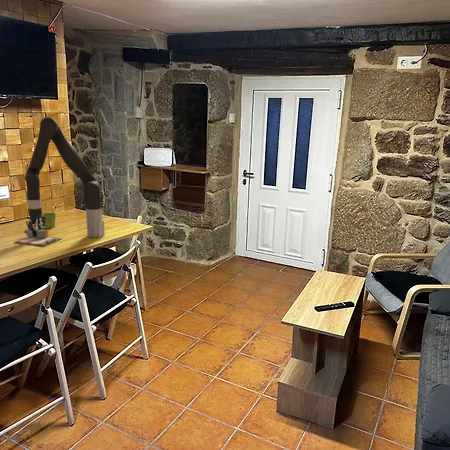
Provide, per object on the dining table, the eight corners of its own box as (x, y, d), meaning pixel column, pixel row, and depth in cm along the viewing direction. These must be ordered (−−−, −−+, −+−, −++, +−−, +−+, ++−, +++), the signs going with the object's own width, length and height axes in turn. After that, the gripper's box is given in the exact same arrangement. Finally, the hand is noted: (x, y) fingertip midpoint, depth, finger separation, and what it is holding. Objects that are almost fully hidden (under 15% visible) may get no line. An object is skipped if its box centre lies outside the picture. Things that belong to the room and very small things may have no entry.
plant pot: (38, 228, 270) (37, 214, 268) (50, 224, 279) (49, 212, 276) (48, 230, 266) (47, 216, 264) (60, 226, 274) (59, 213, 272)
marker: (48, 236, 248) (47, 229, 247) (43, 238, 244) (42, 231, 243) (28, 234, 252) (27, 227, 251) (23, 235, 248) (22, 229, 247)
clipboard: (61, 239, 248) (61, 236, 247) (44, 246, 234) (43, 243, 233) (33, 235, 253) (33, 233, 253) (14, 243, 239) (14, 239, 239)
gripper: (31, 210, 235) (34, 239, 240) (48, 205, 249) (51, 233, 253) (20, 209, 238) (23, 238, 242) (38, 204, 251) (40, 231, 255)
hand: (37, 235), depth 247 cm, fingers closed on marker, 4 cm apart
